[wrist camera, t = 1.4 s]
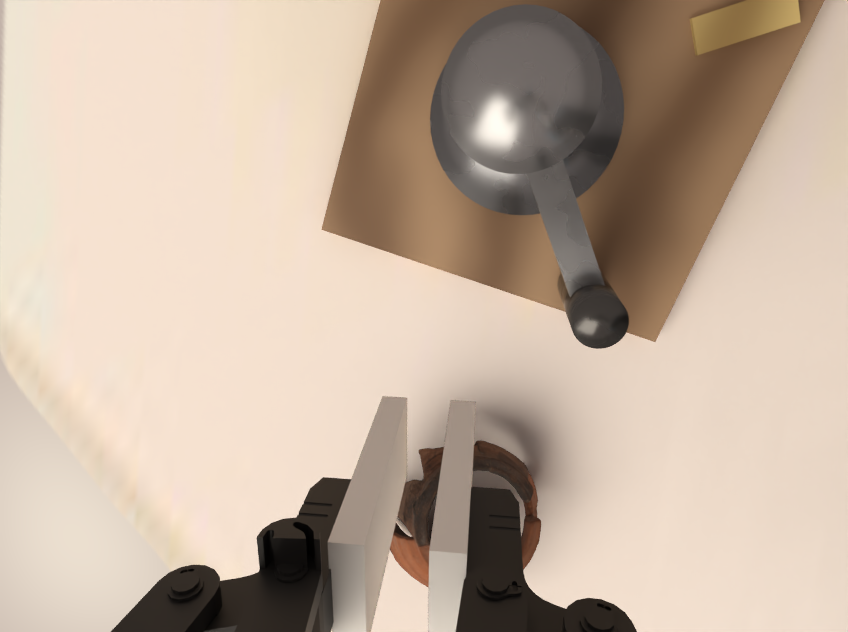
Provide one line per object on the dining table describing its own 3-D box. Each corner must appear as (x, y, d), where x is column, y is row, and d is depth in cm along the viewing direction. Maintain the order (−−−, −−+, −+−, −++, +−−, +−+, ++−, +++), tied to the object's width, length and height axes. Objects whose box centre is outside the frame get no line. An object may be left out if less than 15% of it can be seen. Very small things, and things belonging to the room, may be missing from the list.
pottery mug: (351, 459, 39) (370, 484, 31) (480, 404, 42) (528, 414, 34) (416, 630, 39) (451, 699, 31) (540, 566, 42) (603, 615, 34)
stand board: (831, -37, 27) (882, -59, 24) (649, 333, 34) (668, 361, 30) (420, -177, 27) (409, -220, 23) (318, 222, 34) (298, 236, 30)
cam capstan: (403, 65, 29) (381, 55, 23) (586, -19, 27) (612, -52, 21) (506, 330, 33) (509, 378, 27) (672, 273, 31) (714, 312, 25)
